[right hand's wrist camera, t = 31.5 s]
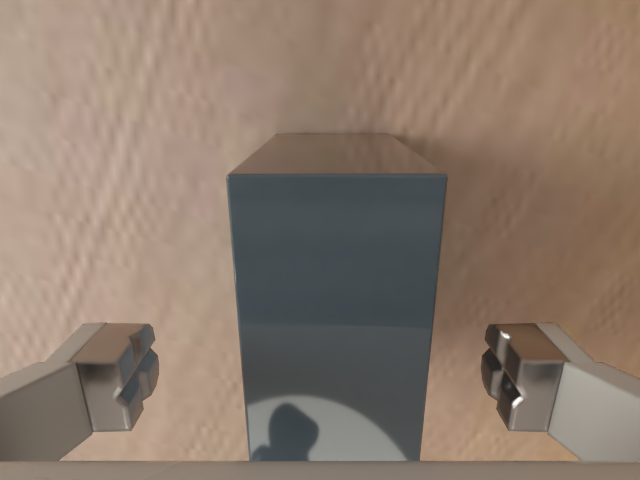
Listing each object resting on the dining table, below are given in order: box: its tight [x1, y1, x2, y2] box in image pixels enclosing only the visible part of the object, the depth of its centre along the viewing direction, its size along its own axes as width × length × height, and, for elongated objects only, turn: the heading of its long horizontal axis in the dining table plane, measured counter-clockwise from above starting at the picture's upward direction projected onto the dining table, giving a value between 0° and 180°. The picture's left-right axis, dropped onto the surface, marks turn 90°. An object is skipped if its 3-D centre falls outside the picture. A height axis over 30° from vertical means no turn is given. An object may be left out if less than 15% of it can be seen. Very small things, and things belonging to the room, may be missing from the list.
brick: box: [226, 134, 448, 461], centre depth 14 cm, size 4×9×8 cm, turn 0°
